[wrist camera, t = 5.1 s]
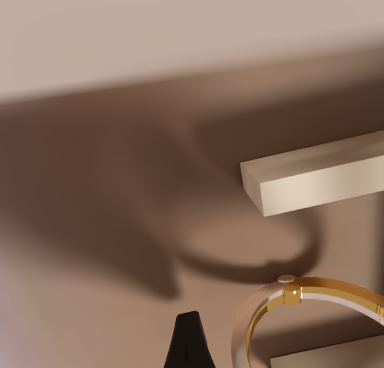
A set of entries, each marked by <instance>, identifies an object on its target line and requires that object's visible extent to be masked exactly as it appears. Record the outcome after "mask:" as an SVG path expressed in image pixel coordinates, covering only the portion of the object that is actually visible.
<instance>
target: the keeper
mask: <svg viewBox="0 0 384 368" xmlns="http://www.w3.org/2000/svg"><path fill="white" fill-rule="evenodd" d="M240 167H241V173H242V180H243V186H244V190H245V192H246V193H247V194H248V196H249V197H250V198H251V200H252V201H253V203H254V204H255V205H256V207H257V208H258V209H259V211H260V212H261V213H262V215H263V216H264V217H266V216H271V215H275V214H280V213H284V212H289V211H293V210H298V209H302V208H307V207H311V206H316V205H320V204H325V203H329V202H334V201H338V200H343V199H347V198H351V197H356V196H360V195H365V194H369V193H374V192H378V191H383V190H384V130H382V131H377V132H373V133H369V134H364V135H360V136H355V137H351V138H347V139H342V140H338V141H333V142H329V143H325V144H320V145H316V146H312V147H307V148H303V149H298V150H294V151H290V152H285V153H281V154H276V155H272V156H268V157H263V158H259V159H255V160H250V161H246V162H241V163H240ZM270 361H271V367H272V368H384V335H380V336H375V337H370V338H365V339H361V340H356V341H351V342H347V343H342V344H337V345H332V346H328V347H323V348H318V349H314V350H309V351H304V352H300V353H295V354H290V355H285V356H281V357H276V358H271V359H270Z"/></svg>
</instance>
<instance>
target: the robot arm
mask: <svg viewBox="0 0 384 368" xmlns="http://www.w3.org/2000/svg"><path fill="white" fill-rule="evenodd" d="M164 368H216V367H215V365H214V363H213V360H212V358H211V355H210V353H209V350H208V347H207V341H206V337H205V334H204V330H203V327H202V323H201V320H200V316H199V312H197V311H192V312H187V313H183V314H178V316H177V317H176V322H175V327H174V332H173V336H172V340H171V344H170V348H169V351H168V355H167V358H166V361H165V365H164Z"/></svg>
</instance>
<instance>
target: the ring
mask: <svg viewBox="0 0 384 368" xmlns="http://www.w3.org/2000/svg"><path fill="white" fill-rule="evenodd" d="M301 299H321V300H327V301H332V302H336V303H339V304H342V305H345V306H348V307H350V308H353V309H355V310H357V311H359V312H361V313H363V314H365V315H367V316H369V317H371V318H372V319H374V320H376V321H377V322H379V323H380V324H382V325H383V326H384V296H382V295H380V294H378V293H375V292H373V291H370V290H368V289H365V288H363V287H360V286H357V285H353V284H350V283H347V282H343V281H338V280H333V279H327V278H318V277H297V278H295V276H293V275H282V276H280V277H278V281H276V282H273V283H270V284H268V285H266V286H264V287H262V288H260V289H259V290H257V291H256V292H255V293H253V294H252V295H251V296H250V297H249V298H248V299H247V301H246V302H245V303H244V305H243V306H242V308H241V309H240V311H239V313H238V315H237V318H236V321H235V324H234V328H233V332H232V339H231V357H232V368H251V364H250V358H249V352H250V342H251V337H252V334H253V331H254V328H255V326H256V324H257V323H258V321H259V320H260V318H261V317H262V316H263V315H264V314H265V313H266V312H267V311H269V310H270V309H271V308H273V307H275V306H277V305H279V304H281V303H284V304H285V305H288V306H294V305H298V304H300V303H301Z"/></svg>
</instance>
